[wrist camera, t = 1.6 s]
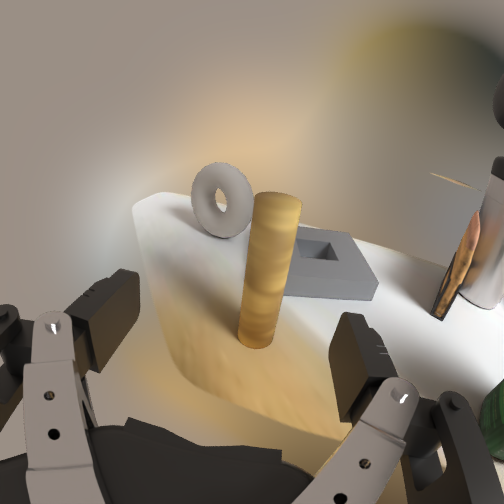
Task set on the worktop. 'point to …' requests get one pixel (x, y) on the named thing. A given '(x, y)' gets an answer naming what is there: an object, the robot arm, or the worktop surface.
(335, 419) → the worktop surface
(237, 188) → the donut
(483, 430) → the coffee jar
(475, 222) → the ammunition clip
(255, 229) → the dowel
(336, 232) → the socket block
